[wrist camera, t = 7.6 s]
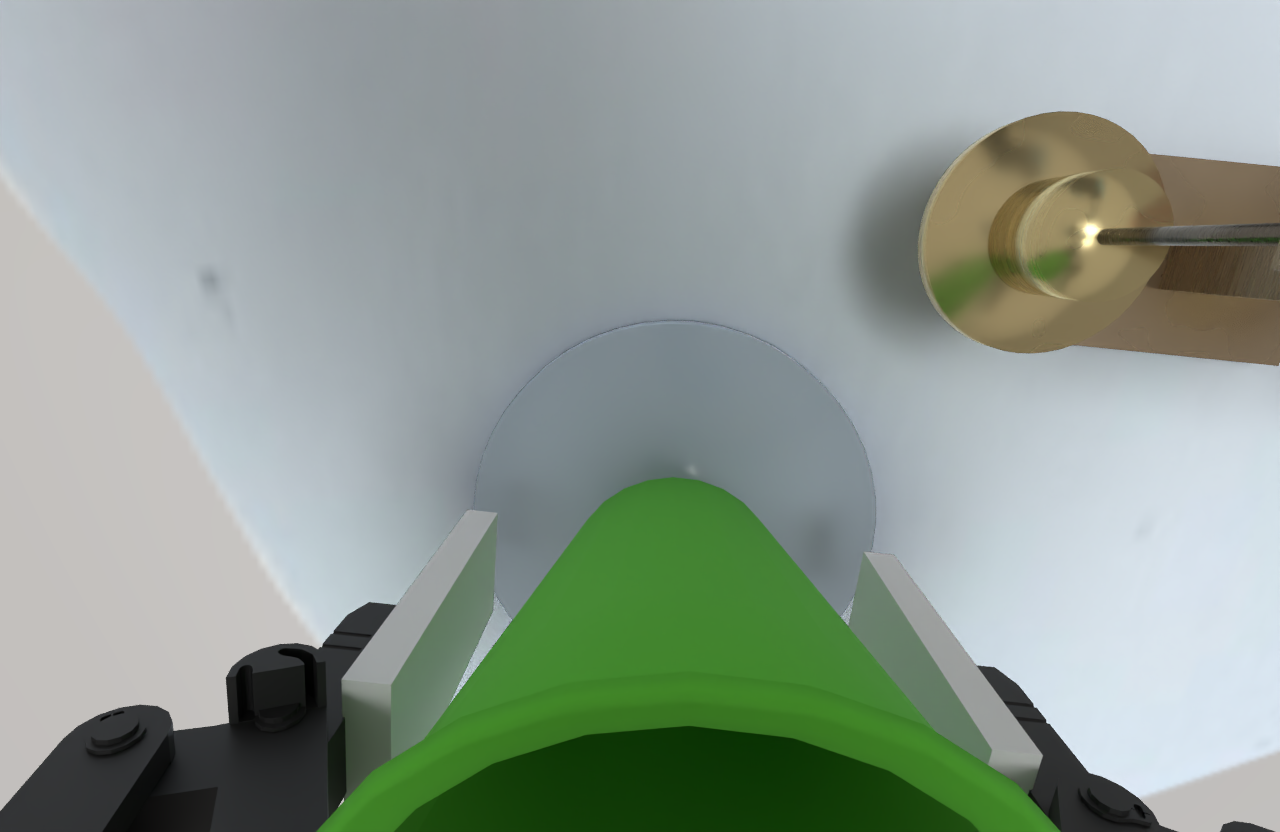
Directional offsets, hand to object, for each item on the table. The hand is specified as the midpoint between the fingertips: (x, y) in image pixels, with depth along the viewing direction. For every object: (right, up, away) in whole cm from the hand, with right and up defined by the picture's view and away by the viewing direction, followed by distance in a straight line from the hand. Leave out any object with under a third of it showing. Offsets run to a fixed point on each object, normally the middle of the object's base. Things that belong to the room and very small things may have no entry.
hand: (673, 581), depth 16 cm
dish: (0, +1, +4) cm, 4 cm away
